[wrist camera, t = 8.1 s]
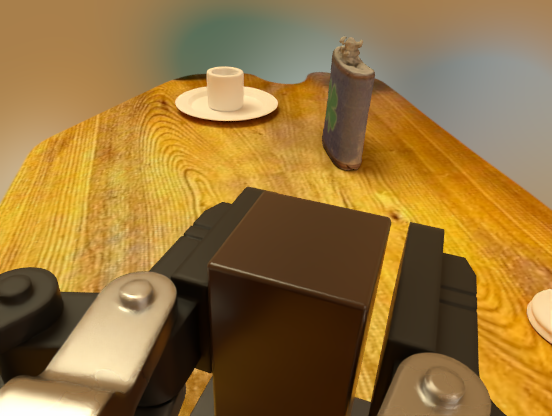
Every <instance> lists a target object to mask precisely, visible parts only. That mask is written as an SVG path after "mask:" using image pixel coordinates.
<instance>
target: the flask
mask: <svg viewBox="0 0 552 416" xmlns="http://www.w3.org/2000/svg"><path fill="white" fill-rule="evenodd" d="M346 38H347V37H342V38H341V39H340V43H342V44H343V45H344V44H345V46H340V47H337V48H336V49H335V50H334V51H333V55H332V65H331V76H330V83H329V91H328V101H327V110H326V117H325V125H324V129H323V136H322V141H323V143H322V144H323V146H324V148H325V149H326V152H327V153H328V156H329V157H330V159H331V160H332V162H333V164H336V165H337V166H338V168H339V167H340V169H344V170H351V169H356V170H357V169H358V168H359V167H360V165H361V160H362V152H363V144H364V138H365V130H366V124H367V118H368V111H369V106H370V101H371V94H372V89H373V83H374V78H375V72H374V70H373V69H370V67H368V66H367V65H366V64H364V63H363V62H362V61H361V59H360V58H359V56H358V55H359V54H360V52H359V50H358V48H360V47H361V46H362V43H363V41H362V40H360V42H356V41H355V40H354V39H353V38H348V40H347V41H346V42H345V43H344V40H345V39H346ZM346 165H348V166H349V167H350V168H351V169H349V168H348V167H347V166H346Z"/></svg>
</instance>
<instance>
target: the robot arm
mask: <svg viewBox="0 0 552 416" xmlns="http://www.w3.org/2000/svg"><path fill="white" fill-rule="evenodd" d="M264 191H266V190H261V189H256V188H252V187H246V188H245V189H244V190H243V192H242V193H241V194H240V195H239V196H238V197H237V199H236V200H235V201H234V202H233V203H232V204H230V203H225V202H222V203H220V204H218V205H216V206H214V207H212V208H210V209H208V210H206V211H204V212H203V213H202V214H201V216H200V217H199V218H198V219H197V220H196V221H195V222H194V223H193V226H190V227H189V229H188V230H187V231H186V232H185V233H184V236H181V237H180V238H179V239H178V240H177V241H176V243H175V244H174V245H173V246H172V247H171V248H170V249H169V250H168V251H167V252H166V253H165V254H164V256H163V257H162V258H161V259H160V260H159V261H158V262H157V263H156V264H155V265H154V266H153V267H152V268H151V270H150V271H149V272H134V273H129V274H126V275H123V276H120V277H118V278H116V279H114V280H113V281H111V282H110V283H109V284H107V285H106V286H105V287H104V288H103V289H102V291H101V292H100V293H85V292H60V289H59V285H58V282H57V279H56V277H55V276H54V274H52V273H51V272H50V271H48V270H45V269H42V268H33V267H28V268H19V269H14V270H11V271H7V272H5V273H2V274H0V416H178V414H179V411H180V409H181V406H182V403H183V401H184V398H185V394H186V381H187V380H188V378H189V377H190V375H191V373H192V372H193V370H194V368H196V369H199V370H202V371H205V372H208V373H212V355H211V336H210V316H209V297H208V277H207V265H208V263H209V261H210V260H211V259H212V258H213V256H214V255H215V254H216V252H217V251H218V250H219V248H220V247H221V246H222V245H223V243H224V242H225V241H226V239H227V238H228V237H229V236H230V234H231V233H232V232H233V230H234V229H235V228H236V226H237V225H238V224H239V223H240V221H241V220H242V219H243V217H244V216H245V215H246V213H247V212H248V211H249V210H250V208H251V207H252V206H253V204H254V203H255V202H256V201H257V199H258V198H259V197H260V195H261V194H262V193H263V192H264ZM269 192H270V191H269ZM273 193H275V192H273ZM443 244H444V229H440V228H435V227H431V226H426V225H422V224H417V223H412V222H410V224H409V228H408V232H407V237H406V241H405V245H404V249H403V253H402V258H401V262H400V266H399V270H398V274H397V279H396V283H395V287H394V292H393V296H392V301H391V306H390V311H389V316H388V321H387V326H386V331H385V335H384V340H383V345H382V350H381V355H380V360H379V365H378V370H377V375H376V380H375V385H374V390H373V395H372V400H371V404H370V409H369V414H368V416H506V415H505V414H504V413H503V412H502V411H501V410H500V409H499V408H498V407H497V406H496V405H495V404H494V403H493V402H492V400H491V399H490V396H489V393H488V390H487V389H486V387H485V385H484V383H483V382H482V381H481V379H480V377H479V364H478V325H477V312H476V311H477V297H476V294H477V286H476V274H475V273H474V271H473V270H472V268H471V266H470V265H469V263H468V261H467V260H466V258H464V257H459V256H455V255H451V254H446V253H443Z"/></svg>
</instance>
